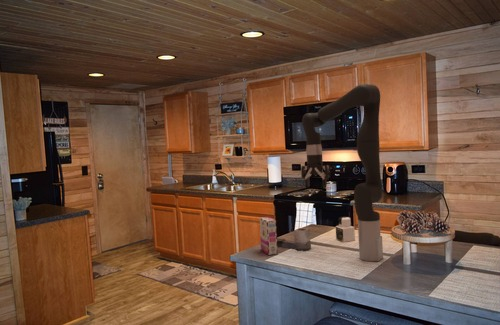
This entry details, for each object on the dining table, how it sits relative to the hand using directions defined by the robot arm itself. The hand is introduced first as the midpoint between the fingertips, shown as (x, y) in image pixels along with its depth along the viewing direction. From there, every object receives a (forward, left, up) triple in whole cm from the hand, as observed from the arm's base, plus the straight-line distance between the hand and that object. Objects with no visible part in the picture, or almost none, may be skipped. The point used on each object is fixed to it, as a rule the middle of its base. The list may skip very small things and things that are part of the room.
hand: (316, 186), depth 188 cm
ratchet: (+13, +6, -30) cm, 33 cm away
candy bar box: (+18, +18, -30) cm, 39 cm away
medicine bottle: (-7, -17, -30) cm, 35 cm away
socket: (+6, +6, -27) cm, 28 cm away
